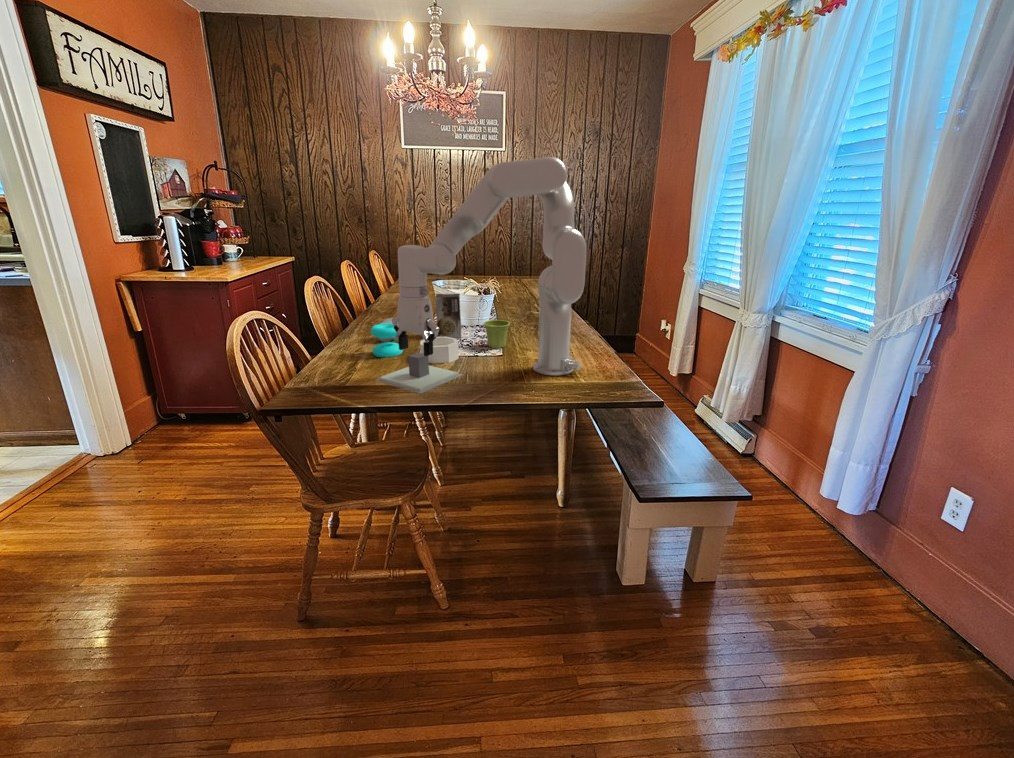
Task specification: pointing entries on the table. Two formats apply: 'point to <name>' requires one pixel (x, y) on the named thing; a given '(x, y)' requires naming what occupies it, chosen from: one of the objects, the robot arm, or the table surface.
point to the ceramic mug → (387, 338)
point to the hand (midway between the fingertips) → (415, 351)
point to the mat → (416, 390)
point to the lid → (419, 374)
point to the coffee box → (448, 315)
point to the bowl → (442, 350)
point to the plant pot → (496, 332)
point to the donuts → (388, 347)
